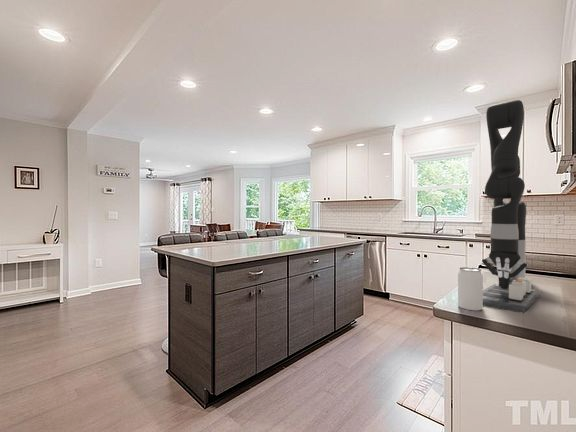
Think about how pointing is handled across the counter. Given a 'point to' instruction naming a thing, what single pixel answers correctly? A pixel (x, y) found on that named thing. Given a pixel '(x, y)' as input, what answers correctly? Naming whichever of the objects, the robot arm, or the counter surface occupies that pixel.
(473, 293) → the can
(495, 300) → the panel
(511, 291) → the block
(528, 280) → the block
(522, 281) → the block
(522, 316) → the counter surface
